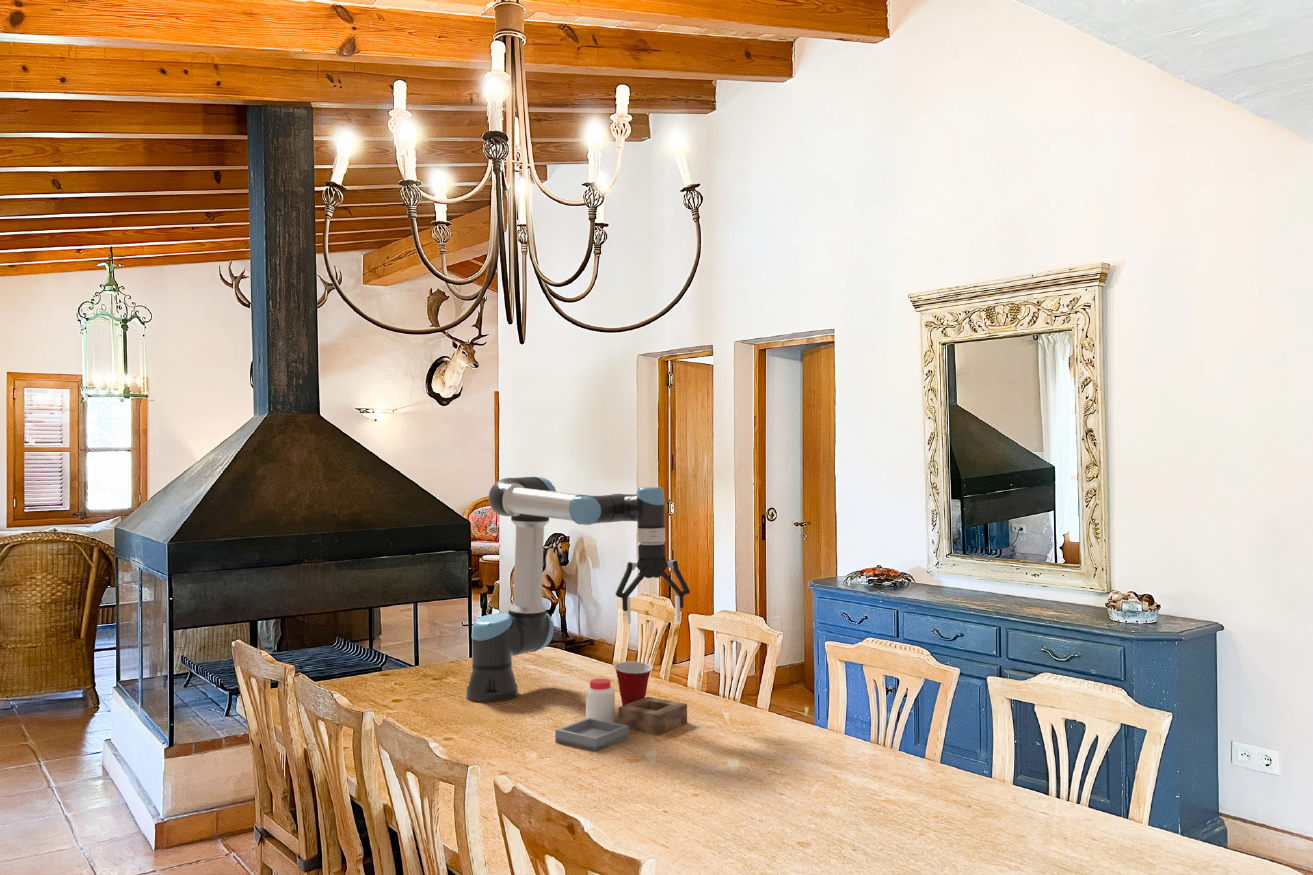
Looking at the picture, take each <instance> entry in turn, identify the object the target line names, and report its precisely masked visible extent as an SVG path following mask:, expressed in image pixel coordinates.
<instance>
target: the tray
mask: <svg viewBox="0 0 1313 875" xmlns="http://www.w3.org/2000/svg"><path fill="white" fill-rule="evenodd" d="M629 732H630V729H629V726H627V725H623V724H618V722H617V723H616V722H615V723H613V722H608V721H603V720H599V719H594V718H586V717H585V718H584V719H581V720H579V721H576V722H573V723H571V724H567V725H565V726H562V727H559V728H556V729H555V733H554V734H555V735H554V736H555V738H554V739H555V743H558V744H563V745H567V746H571V747H574V748H575V747H576V748H580V749H583V750H588V751H593V752H598V751H600V750H603V749H605V748H608V747H609V746H613V745H615V744H617V743H619V742H622V741H625V740H626V739H629V737H630V736H629Z"/></svg>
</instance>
